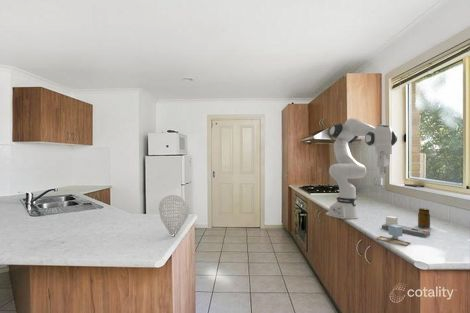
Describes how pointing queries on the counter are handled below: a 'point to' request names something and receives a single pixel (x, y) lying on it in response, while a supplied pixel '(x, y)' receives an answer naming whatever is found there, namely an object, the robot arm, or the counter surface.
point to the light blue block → (395, 231)
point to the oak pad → (393, 241)
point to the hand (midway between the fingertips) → (383, 174)
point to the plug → (391, 220)
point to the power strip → (411, 230)
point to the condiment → (424, 218)
